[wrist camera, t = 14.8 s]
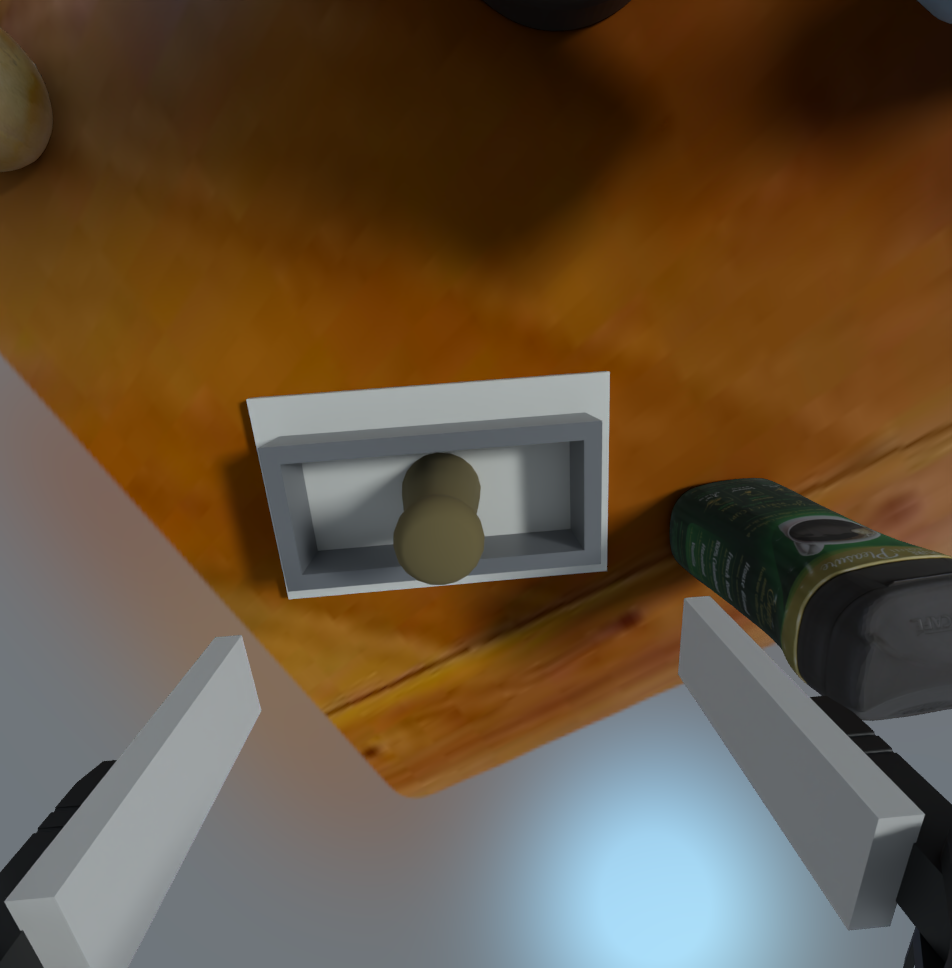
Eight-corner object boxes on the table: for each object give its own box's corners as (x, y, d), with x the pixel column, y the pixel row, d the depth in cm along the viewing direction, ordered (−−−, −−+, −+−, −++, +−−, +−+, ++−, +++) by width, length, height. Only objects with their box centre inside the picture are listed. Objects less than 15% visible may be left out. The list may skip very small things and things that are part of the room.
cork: (484, 523, 36) (498, 596, 26) (407, 531, 36) (390, 608, 26) (477, 448, 34) (490, 494, 24) (396, 456, 34) (373, 505, 24)
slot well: (292, 592, 38) (270, 628, 33) (251, 397, 34) (219, 406, 29) (603, 565, 39) (624, 595, 34) (605, 371, 34) (630, 375, 30)
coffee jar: (664, 572, 40) (840, 757, 22) (664, 484, 37) (860, 612, 19) (775, 556, 40) (1040, 728, 22) (782, 468, 37) (1083, 580, 20)
